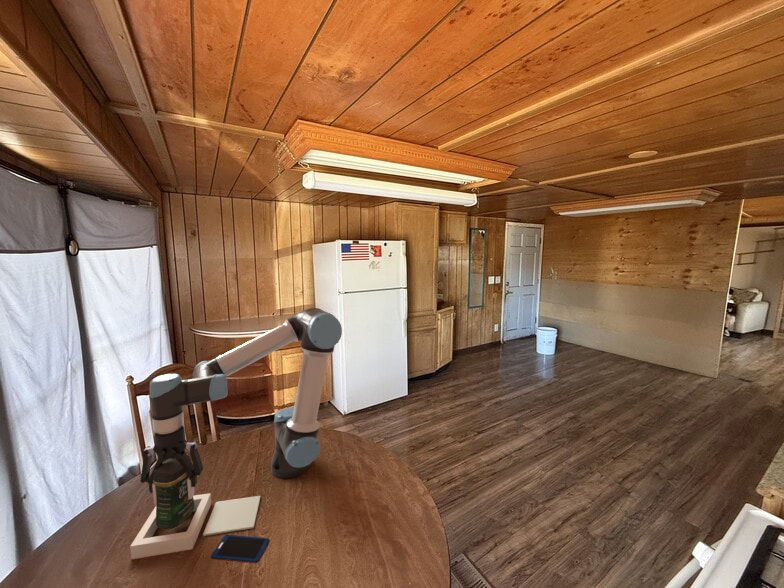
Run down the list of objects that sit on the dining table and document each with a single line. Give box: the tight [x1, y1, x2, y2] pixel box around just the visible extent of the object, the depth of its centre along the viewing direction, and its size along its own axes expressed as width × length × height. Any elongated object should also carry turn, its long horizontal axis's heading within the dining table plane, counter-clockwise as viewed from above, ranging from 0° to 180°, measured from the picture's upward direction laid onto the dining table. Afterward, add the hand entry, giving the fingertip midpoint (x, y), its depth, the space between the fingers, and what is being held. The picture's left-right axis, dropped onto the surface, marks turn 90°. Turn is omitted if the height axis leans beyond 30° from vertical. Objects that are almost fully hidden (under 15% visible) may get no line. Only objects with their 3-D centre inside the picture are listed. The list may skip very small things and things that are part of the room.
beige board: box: [202, 495, 262, 537], centre depth 103 cm, size 14×13×1 cm
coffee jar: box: [153, 454, 194, 530], centre depth 96 cm, size 10×8×19 cm
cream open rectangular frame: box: [129, 492, 212, 560], centre depth 98 cm, size 15×17×4 cm
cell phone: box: [210, 534, 270, 563], centre depth 92 cm, size 7×14×1 cm, turn 85°
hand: (174, 498), depth 97 cm, fingers closed on coffee jar, 8 cm apart
